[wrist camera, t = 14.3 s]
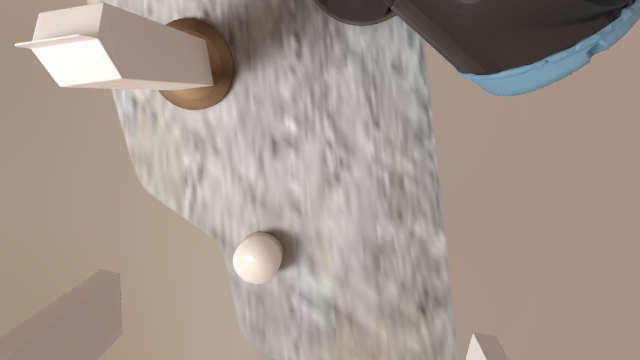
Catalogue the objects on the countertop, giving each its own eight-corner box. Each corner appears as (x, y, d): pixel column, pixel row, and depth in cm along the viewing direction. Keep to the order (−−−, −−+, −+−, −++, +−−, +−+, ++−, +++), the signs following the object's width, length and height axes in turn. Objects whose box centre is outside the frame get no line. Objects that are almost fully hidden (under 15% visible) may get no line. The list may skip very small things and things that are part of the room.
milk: (165, 46, 45) (-4, -1, 24) (207, 39, 45) (70, -14, 23) (174, 91, 47) (22, 85, 26) (215, 86, 46) (93, 76, 25)
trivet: (151, 15, 45) (147, 13, 45) (235, 24, 45) (233, 23, 44) (152, 104, 49) (148, 104, 48) (231, 114, 48) (229, 114, 47)
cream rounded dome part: (233, 238, 53) (226, 248, 49) (274, 226, 51) (269, 236, 48) (249, 276, 54) (242, 288, 51) (289, 266, 53) (285, 277, 50)
